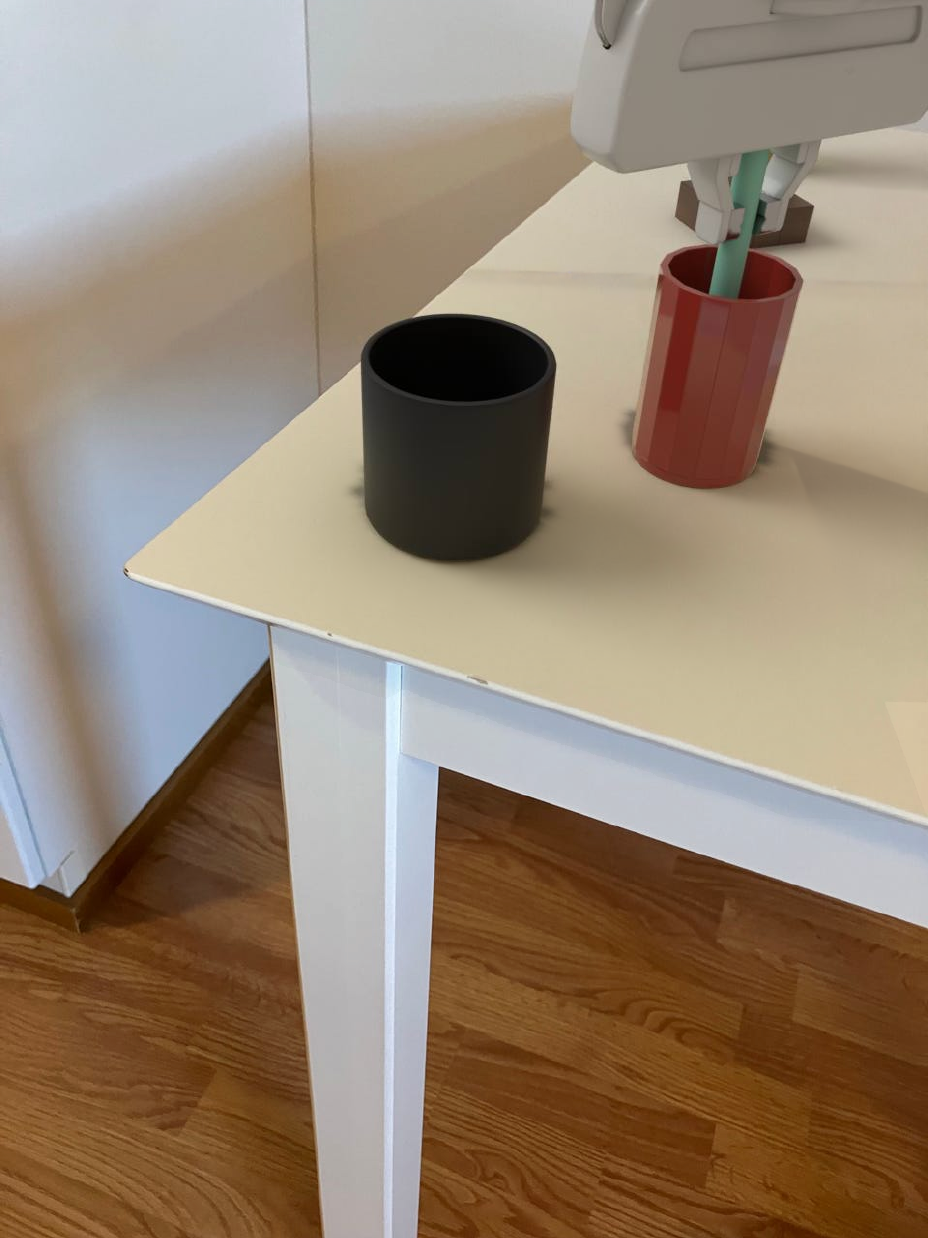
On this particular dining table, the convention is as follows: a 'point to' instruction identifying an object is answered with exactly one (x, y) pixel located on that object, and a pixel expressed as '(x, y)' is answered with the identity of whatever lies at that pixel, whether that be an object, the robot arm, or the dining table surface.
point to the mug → (455, 433)
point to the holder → (789, 234)
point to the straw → (735, 252)
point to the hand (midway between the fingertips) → (737, 234)
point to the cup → (712, 367)
